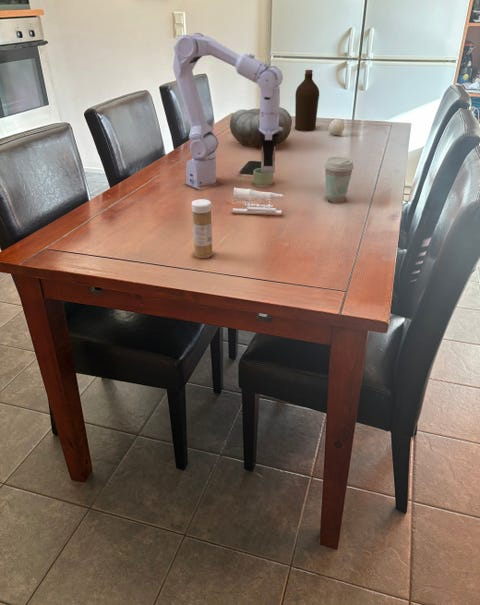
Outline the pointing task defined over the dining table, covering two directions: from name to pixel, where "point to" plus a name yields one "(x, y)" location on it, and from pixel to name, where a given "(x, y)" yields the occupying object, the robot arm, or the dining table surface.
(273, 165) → the rectangular block
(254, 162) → the phone
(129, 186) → the dining table surface
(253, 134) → the gourd
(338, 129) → the baseball
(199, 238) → the sprinkles bottle
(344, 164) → the coffee cup
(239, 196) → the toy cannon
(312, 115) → the olive oil
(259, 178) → the cup
